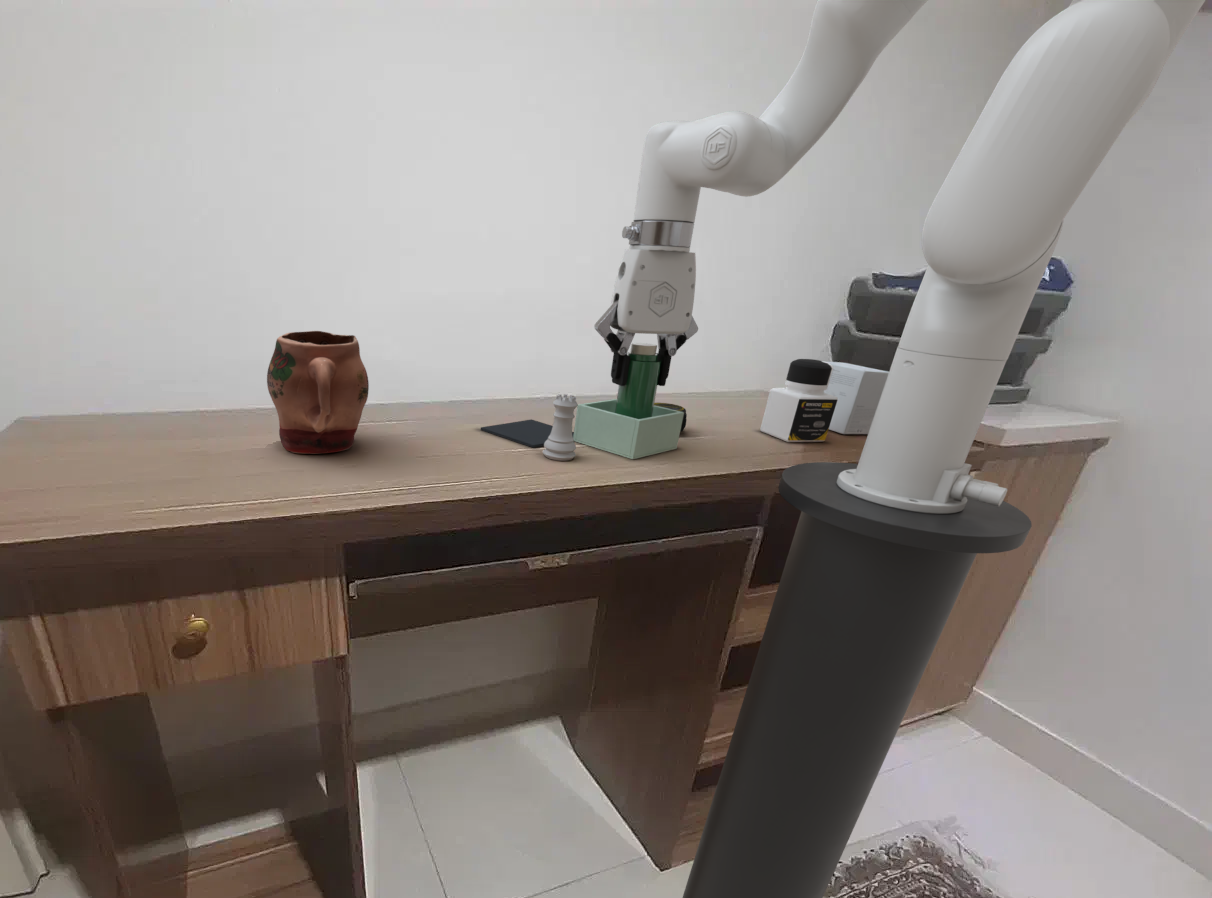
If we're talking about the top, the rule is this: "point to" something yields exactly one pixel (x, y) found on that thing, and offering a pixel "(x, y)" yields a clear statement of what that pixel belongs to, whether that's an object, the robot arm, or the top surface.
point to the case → (627, 430)
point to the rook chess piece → (562, 430)
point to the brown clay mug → (317, 390)
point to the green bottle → (639, 382)
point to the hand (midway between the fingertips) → (638, 382)
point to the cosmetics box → (855, 396)
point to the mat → (523, 432)
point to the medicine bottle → (801, 404)
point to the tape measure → (677, 408)
